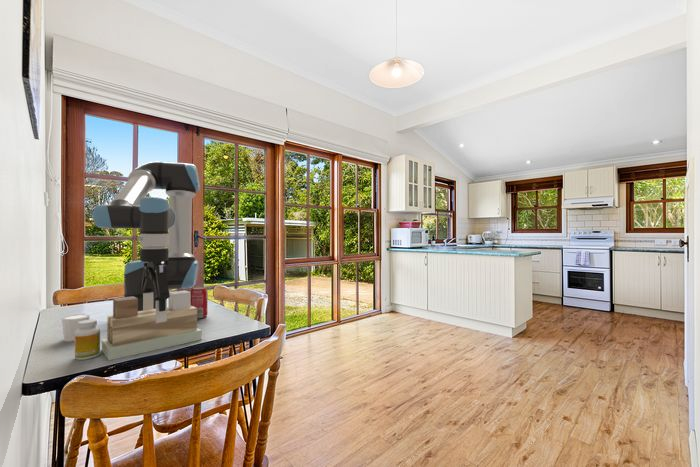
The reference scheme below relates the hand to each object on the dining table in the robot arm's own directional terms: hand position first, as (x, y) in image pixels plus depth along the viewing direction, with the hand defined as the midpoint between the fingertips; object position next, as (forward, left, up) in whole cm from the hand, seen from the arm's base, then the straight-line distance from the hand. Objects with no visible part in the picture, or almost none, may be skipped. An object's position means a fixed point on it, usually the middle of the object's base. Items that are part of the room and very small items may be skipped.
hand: (154, 317), depth 98 cm
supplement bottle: (-2, -16, -8) cm, 18 cm away
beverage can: (-23, +22, -8) cm, 33 cm away
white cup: (-24, -16, -8) cm, 30 cm away
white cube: (0, +7, +2) cm, 7 cm away
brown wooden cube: (0, -7, +2) cm, 8 cm away
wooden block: (0, 0, -5) cm, 5 cm away
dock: (0, 0, -8) cm, 8 cm away
